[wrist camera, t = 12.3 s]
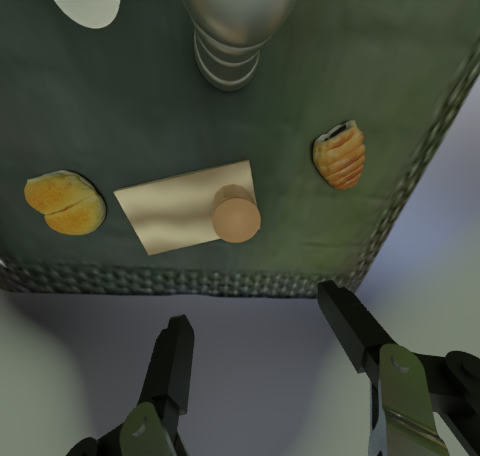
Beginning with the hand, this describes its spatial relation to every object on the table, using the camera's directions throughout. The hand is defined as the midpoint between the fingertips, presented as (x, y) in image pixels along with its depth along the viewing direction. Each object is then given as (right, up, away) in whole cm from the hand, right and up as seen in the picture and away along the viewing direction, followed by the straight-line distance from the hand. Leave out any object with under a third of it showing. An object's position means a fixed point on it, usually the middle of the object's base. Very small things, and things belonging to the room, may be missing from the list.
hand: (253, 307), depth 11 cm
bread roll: (-25, +9, +16) cm, 31 cm away
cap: (-2, +8, +17) cm, 19 cm away
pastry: (+14, +16, +17) cm, 27 cm away
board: (-8, +8, +18) cm, 21 cm away
